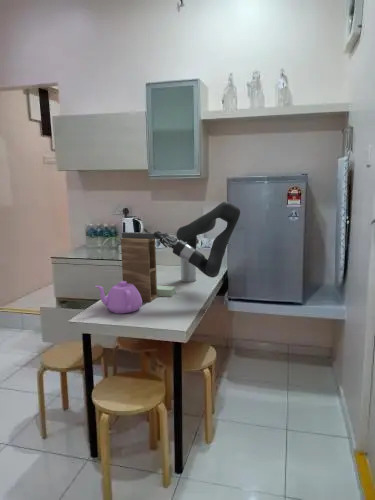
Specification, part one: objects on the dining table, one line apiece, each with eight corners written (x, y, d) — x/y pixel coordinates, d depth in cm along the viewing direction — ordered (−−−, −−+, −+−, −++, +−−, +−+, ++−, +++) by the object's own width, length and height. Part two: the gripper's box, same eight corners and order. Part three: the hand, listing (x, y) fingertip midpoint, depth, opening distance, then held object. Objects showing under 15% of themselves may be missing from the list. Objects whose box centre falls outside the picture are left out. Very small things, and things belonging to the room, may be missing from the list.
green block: (148, 291, 218) (148, 284, 217) (175, 293, 212) (175, 286, 212) (143, 294, 211) (143, 288, 210) (171, 296, 206) (171, 290, 205)
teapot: (92, 307, 192) (90, 279, 189) (135, 300, 200) (134, 274, 198) (101, 321, 172) (99, 290, 169) (148, 313, 180) (147, 284, 178)
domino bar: (124, 237, 202) (124, 232, 202) (167, 238, 195) (167, 233, 194) (121, 237, 200) (121, 232, 200) (165, 239, 192) (165, 233, 192)
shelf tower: (131, 294, 211) (128, 236, 205) (157, 297, 206) (155, 237, 200) (123, 299, 202) (120, 238, 197) (150, 302, 197) (147, 239, 192)
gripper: (192, 242, 197) (164, 225, 200) (183, 247, 184) (153, 228, 187) (185, 254, 199) (157, 237, 203) (176, 260, 186) (146, 241, 190)
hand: (155, 233), depth 195 cm, fingers closed on domino bar, 2 cm apart
